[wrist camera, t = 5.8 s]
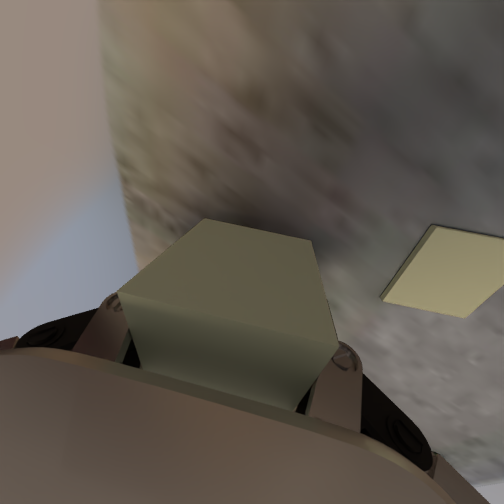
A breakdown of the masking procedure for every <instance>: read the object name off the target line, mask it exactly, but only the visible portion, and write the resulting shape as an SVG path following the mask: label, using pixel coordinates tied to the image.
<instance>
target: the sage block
mask: <svg viewBox="0 0 504 504" xmlns="http://www.w3.org/2000/svg"><path fill="white" fill-rule="evenodd" d="M117 294H118V297H119V300H120V303H121V306H122V309H123V312H124V315H125V318H126V321H127V324H128V327H129V329H130V332H131V335H132V338H133V341H134V344H135V347H136V350H137V353H138V356H139V359H140V362H141V365H142V368H143V370H146V371H149V372H153V373H157V374H160V375H164V376H168V377H171V378H175V379H178V380H182V381H186V382H189V383H193V384H196V385H200V386H204V387H207V388H211V389H214V390H218V391H221V392H225V393H229V394H232V395H236V396H239V397H243V398H246V399H250V400H253V401H257V402H260V403H264V404H267V405H271V406H275V407H278V408H282V409H285V410H289V411H292V412H293V411H294V409H295V408H296V406H297V405H298V404H299V402H300V401H301V400H302V398H303V397H304V395H305V394H306V393H307V391H308V390H309V388H310V387H311V386H312V384H313V383H314V381H315V380H316V379H317V377H318V376H319V374H320V373H321V372H322V370H323V369H324V368H325V366H326V365H327V363H328V362H329V361H330V359H331V358H332V356H333V355H334V354H335V352H336V351H337V349H338V348H339V343H338V340H337V336H336V332H335V328H334V325H333V321H332V317H331V313H330V310H329V306H328V302H327V299H326V295H325V291H324V287H323V284H322V280H321V276H320V272H319V269H318V265H317V261H316V257H315V254H314V250H313V246H312V242H311V241H310V240H305V239H300V238H296V237H291V236H286V235H282V234H277V233H272V232H267V231H263V230H258V229H253V228H249V227H244V226H239V225H234V224H230V223H225V222H220V221H215V220H211V219H206V218H204V219H203V220H202V221H200V222H199V223H198V224H197V225H196V226H194V227H193V228H192V229H191V230H190V231H188V232H187V233H186V234H185V235H184V236H182V237H181V238H180V239H179V240H178V241H176V242H175V243H174V244H173V245H172V246H170V247H169V248H168V249H167V250H166V251H164V252H163V253H162V254H161V255H160V256H158V257H157V258H156V259H155V260H154V261H152V262H151V263H150V264H149V265H147V266H146V267H145V268H144V269H143V270H141V271H140V272H139V273H138V274H137V275H136V276H134V277H133V278H132V279H131V280H129V281H128V282H127V283H126V284H125V285H123V286H122V287H121V288H120V289H119V290H117Z"/></svg>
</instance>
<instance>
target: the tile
mask: <svg viewBox="0 0 504 504" xmlns="http://www.w3.org/2000/svg"><path fill="white" fill-rule="evenodd" d="M502 285H504V238H499V237H494V236H488V235H483V234H478V233H473V232H467V231H462V230H457V229H451V228H446V227H441V226H436V225H431V226H430V228H429V229H428V230H427V232H426V233H425V235H424V236H423V237H422V239H421V240H420V242H419V243H418V245H417V246H416V247H415V249H414V250H413V252H412V253H411V254H410V256H409V257H408V259H407V260H406V261H405V263H404V264H403V266H402V267H401V268H400V270H399V271H398V273H397V274H396V275H395V277H394V278H393V280H392V281H391V282H390V284H389V285H388V287H387V288H386V289H385V291H384V292H383V294H382V295H381V297H380V298H381V300H382V301H384V302H389V303H393V304H398V305H403V306H408V307H413V308H417V309H422V310H427V311H432V312H437V313H441V314H446V315H451V316H456V317H461V318H466V317H467V316H468V315H469V314H471V313H472V312H473V311H474V310H475V309H476V308H477V307H479V306H480V305H481V304H482V303H483V302H484V301H485V300H486V299H488V298H489V297H490V296H491V295H492V294H493V293H494V292H496V291H497V290H498V289H499V288H500V287H501V286H502Z"/></svg>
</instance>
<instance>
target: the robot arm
mask: <svg viewBox="0 0 504 504" xmlns="http://www.w3.org/2000/svg"><path fill="white" fill-rule="evenodd" d="M327 302H328V301H327ZM328 306H329V304H328ZM329 310H330V308H329ZM330 313H331V312H330ZM331 317H332V315H331ZM332 321H333V319H332ZM333 325H334V323H333ZM334 328H335V327H334ZM335 332H336V330H335ZM336 336H337V334H336ZM337 340H338V338H337ZM338 343H339V348H338V349H337V351H336V352H335V354H334V355H333V356H332V358H331V359H330V361H329V362H328V363H327V365H326V366H325V368H324V369H323V370H322V372H321V373H320V374H319V376H318V377H317V379H316V380H315V381H314V383H313V384H312V386H311V387H310V388H309V390H308V391H307V393H306V394H305V395H304V397H303V398H302V400H301V401H300V402H299V404H298V405H297V406H296V408H295V409H294V411H293V412H292V411H289V410H285V409H282V408H278V407H275V406H271V405H267V404H264V403H260V402H257V401H253V400H250V399H246V398H243V397H239V396H236V395H232V394H229V393H225V392H221V391H218V390H214V389H211V388H207V387H204V386H200V385H196V384H193V383H189V382H186V381H182V380H178V379H175V378H171V377H168V376H164V375H160V374H157V373H153V372H149V371H146V370H143V368H142V365H141V362H140V359H139V356H138V353H137V350H136V347H135V344H134V341H133V338H132V335H131V332H130V329H129V327H128V324H127V321H126V318H125V315H124V312H123V309H122V306H121V303H120V300H119V297H118V294H117V292H115V293H113V294H111V295H110V296H108V297H107V298H106V299H105V300H104V301H103V302H102V304H101V305H100V307H99V308H96V309H93V310H89V311H86V312H82V313H79V314H75V315H72V316H68V317H65V318H61V319H58V320H54V321H51V322H48V323H45V324H42V325H40V326H37V327H36V328H34V329H32V330H30V331H29V332H27V333H26V334H24V335H23V336H22V337H21V338H20V339H19V337H18V336H16V337H12V338H9V339H5V340H2V341H0V504H490V503H489V502H488V501H487V500H486V499H485V498H484V497H483V496H482V495H481V494H480V493H478V491H477V490H476V489H475V488H474V487H473V486H471V485H470V484H469V483H468V482H467V481H466V480H465V479H464V478H463V477H462V476H461V475H460V474H459V473H458V472H457V471H456V470H455V469H454V468H453V467H452V466H451V465H450V464H449V463H448V462H447V461H446V460H445V459H444V458H443V457H442V456H441V455H440V454H438V455H435V454H434V453H433V452H432V451H431V448H430V446H429V444H428V442H427V440H426V438H425V437H424V435H423V434H422V432H421V431H420V429H419V428H418V427H417V426H416V425H415V424H414V422H413V421H412V420H411V419H410V418H409V417H408V416H407V415H406V414H404V413H403V412H402V411H401V410H400V409H399V408H398V407H397V406H396V405H395V404H394V403H393V402H392V401H391V400H390V399H389V398H388V397H387V396H386V395H385V394H384V393H383V392H382V391H381V390H380V389H379V388H378V387H377V386H376V385H375V384H374V383H372V382H371V381H370V380H369V379H368V378H367V377H366V376H365V375H364V374H363V367H362V362H361V360H360V357H359V356H358V354H357V353H356V352H355V351H354V350H353V349H352V348H351V347H350V346H349V345H347V344H346V343H344V342H341V341H338Z"/></svg>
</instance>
